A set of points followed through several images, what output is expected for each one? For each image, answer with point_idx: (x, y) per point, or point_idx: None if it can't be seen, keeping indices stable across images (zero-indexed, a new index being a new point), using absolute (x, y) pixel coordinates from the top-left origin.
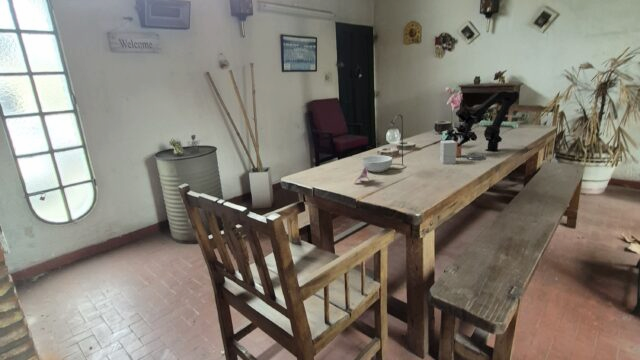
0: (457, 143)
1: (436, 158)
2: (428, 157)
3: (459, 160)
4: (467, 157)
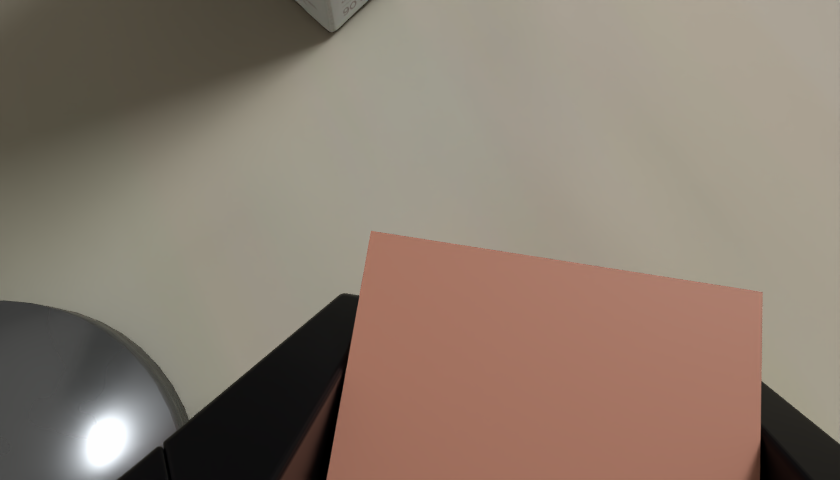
0: (365, 270)
1: (668, 36)
2: (835, 22)
3: (221, 138)
4: (110, 337)
